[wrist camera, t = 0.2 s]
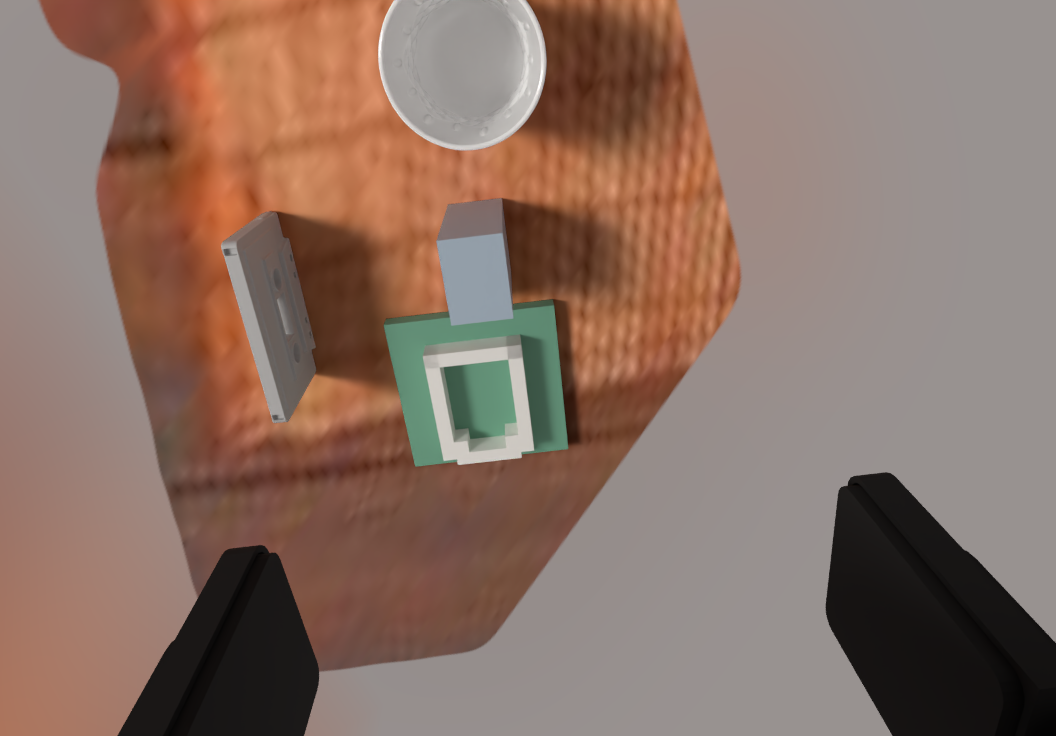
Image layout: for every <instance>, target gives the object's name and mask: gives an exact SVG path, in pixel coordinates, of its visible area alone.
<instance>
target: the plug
mask: <svg viewBox="0 0 1056 736" xmlns="http://www.w3.org/2000/svg"><path fill="white" fill-rule="evenodd" d="M437 247H438V252H439V258H440V264H441V270H442V275H443V281H444V287H445V292H446V298H447V304H448V309H449V315H450V321H451V326H453V325H462V324H470V323H479V322H487V321H496V320H505V319H513V299H512V280H511V266H510V258H509V250H508V242H507V235H506V227H505V219H504V211H503V203H502V198H499V199H491V200H482V201H474V202H465V203H457V204H449V205H448V206H447V210H446V213H445V216H444V219H443V222H442V225H441V228H440V231H439V235H438V238H437Z"/></svg>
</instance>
